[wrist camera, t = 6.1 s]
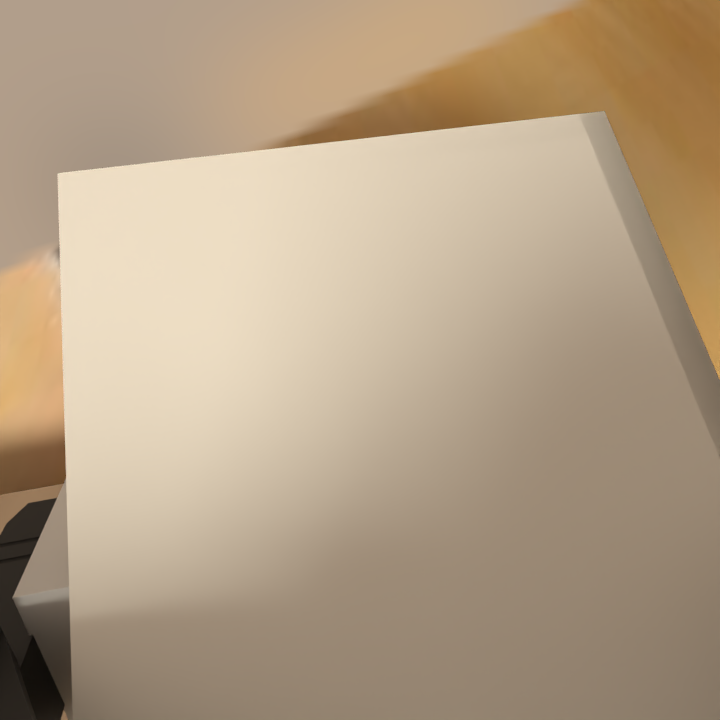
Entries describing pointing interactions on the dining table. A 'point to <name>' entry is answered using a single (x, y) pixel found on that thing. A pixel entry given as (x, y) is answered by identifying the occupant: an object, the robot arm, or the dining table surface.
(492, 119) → the dining table surface
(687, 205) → the dining table surface
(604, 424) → the lid
